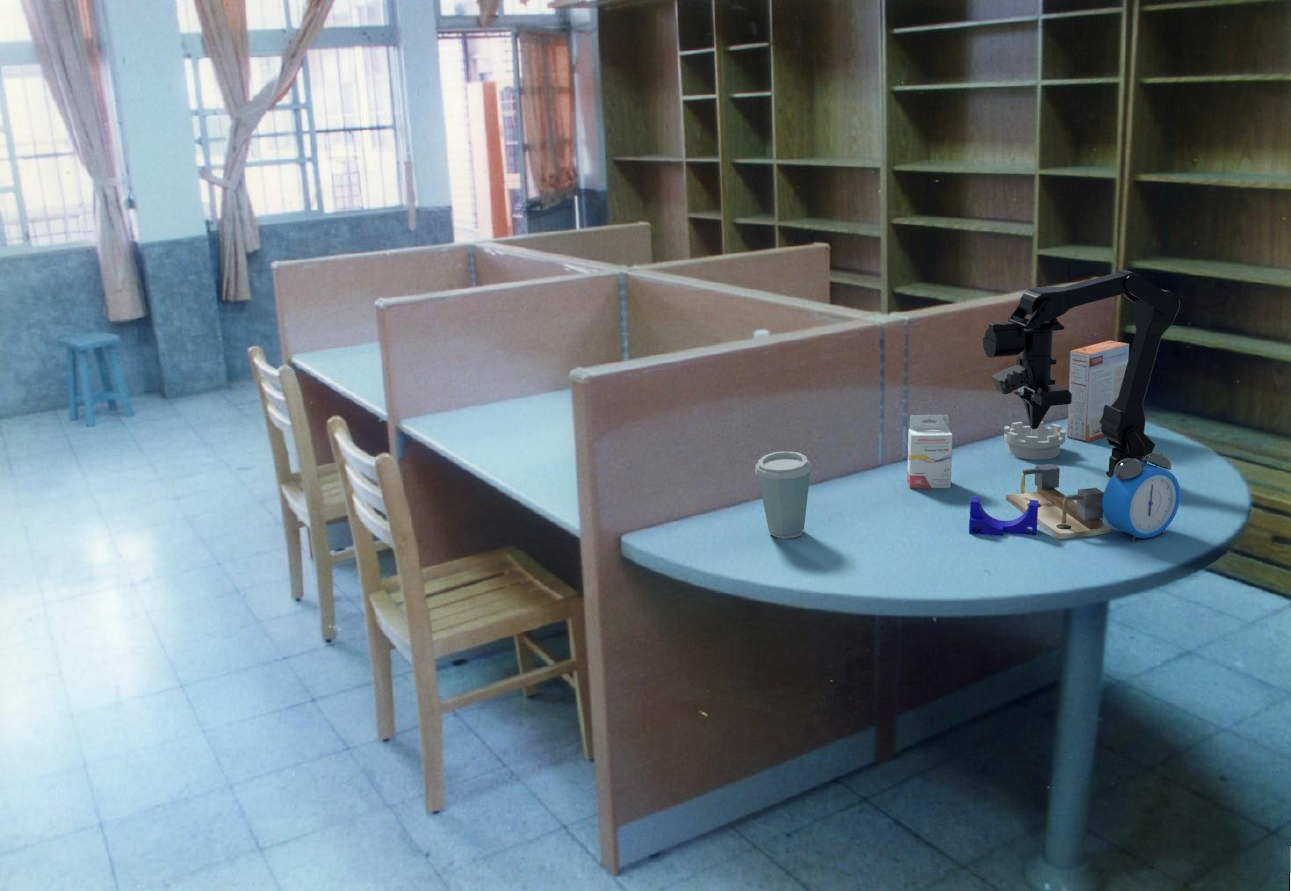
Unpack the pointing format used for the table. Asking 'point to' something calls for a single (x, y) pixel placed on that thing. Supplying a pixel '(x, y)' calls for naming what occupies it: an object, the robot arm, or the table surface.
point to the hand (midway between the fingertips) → (1033, 428)
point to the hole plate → (1066, 511)
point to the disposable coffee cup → (784, 491)
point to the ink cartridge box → (929, 452)
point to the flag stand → (1034, 440)
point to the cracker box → (1094, 386)
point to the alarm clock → (1142, 496)
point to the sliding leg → (1042, 476)
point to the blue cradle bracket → (991, 526)
